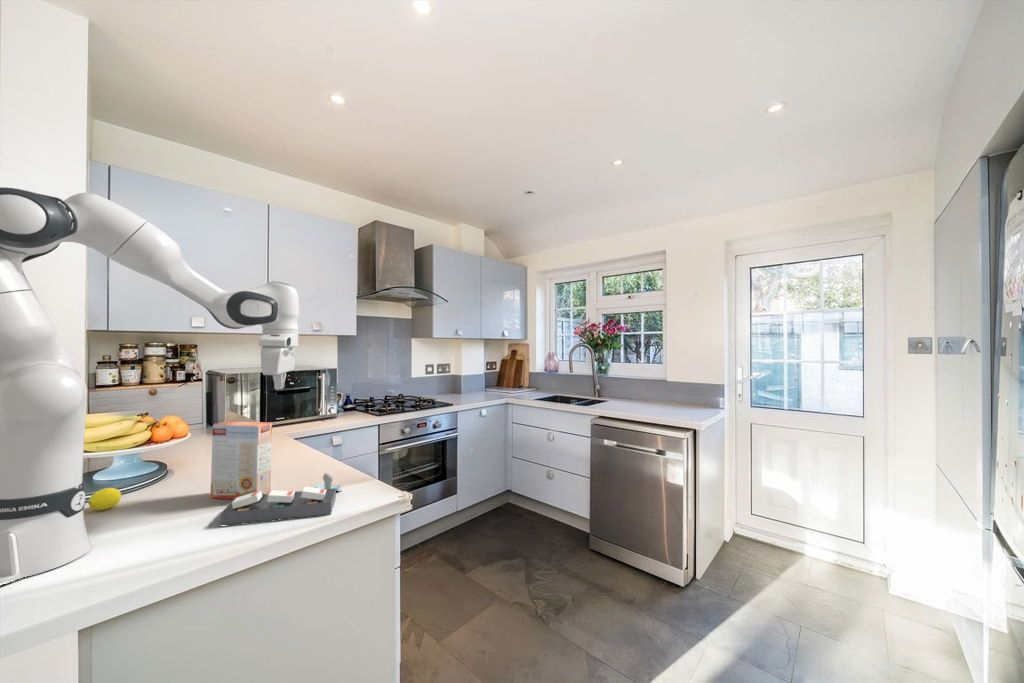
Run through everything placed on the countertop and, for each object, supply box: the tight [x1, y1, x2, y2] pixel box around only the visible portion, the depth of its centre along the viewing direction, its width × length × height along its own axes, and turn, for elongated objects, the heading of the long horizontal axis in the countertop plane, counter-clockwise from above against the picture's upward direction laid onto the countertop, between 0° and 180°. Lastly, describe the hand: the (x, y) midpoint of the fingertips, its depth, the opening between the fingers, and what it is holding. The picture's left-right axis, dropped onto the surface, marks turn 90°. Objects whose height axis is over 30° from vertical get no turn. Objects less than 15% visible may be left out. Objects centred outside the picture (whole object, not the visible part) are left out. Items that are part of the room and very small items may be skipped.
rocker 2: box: [267, 489, 295, 503], centre depth 98 cm, size 5×3×2 cm, turn 108°
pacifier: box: [314, 472, 343, 492], centre depth 114 cm, size 7×6×6 cm
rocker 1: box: [231, 490, 262, 509], centre depth 95 cm, size 5×3×2 cm, turn 108°
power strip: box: [220, 488, 337, 526], centre depth 100 cm, size 24×10×4 cm, turn 108°
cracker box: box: [210, 420, 273, 500], centre depth 110 cm, size 14×6×21 cm, turn 84°
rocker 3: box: [301, 486, 327, 500], centre depth 100 cm, size 5×3×2 cm, turn 108°
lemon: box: [87, 487, 122, 511], centre depth 99 cm, size 7×5×5 cm
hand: (279, 388), depth 108 cm, fingers closed
